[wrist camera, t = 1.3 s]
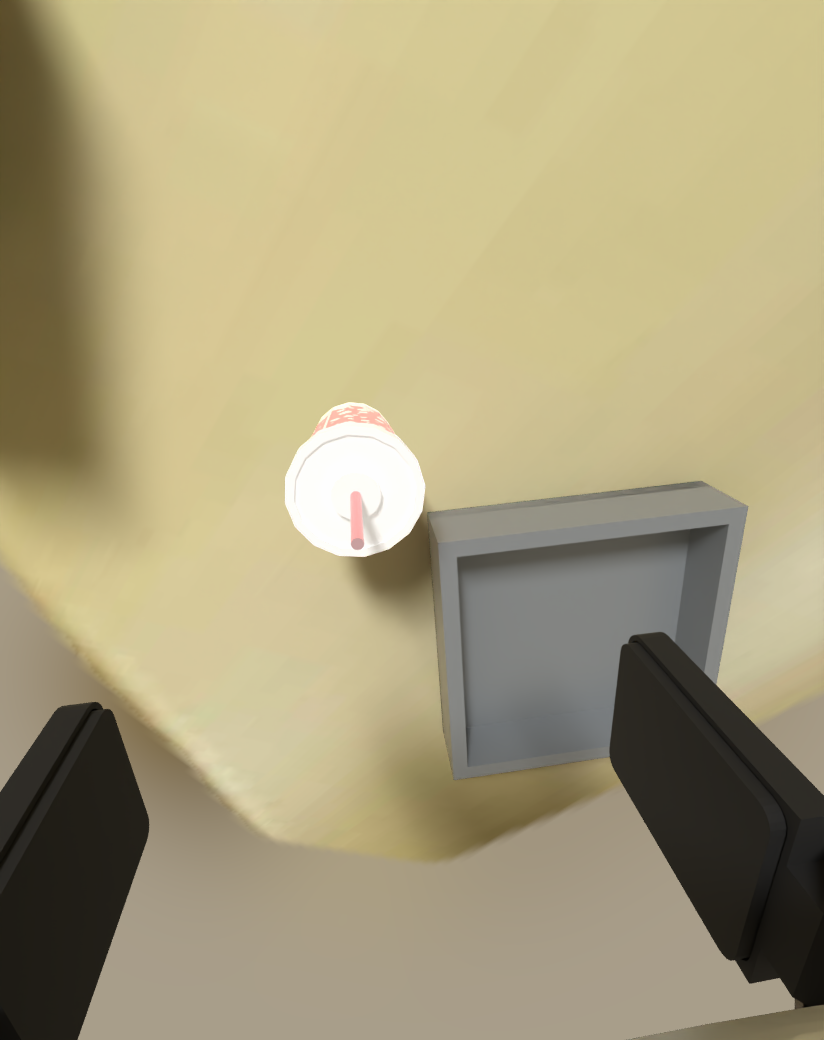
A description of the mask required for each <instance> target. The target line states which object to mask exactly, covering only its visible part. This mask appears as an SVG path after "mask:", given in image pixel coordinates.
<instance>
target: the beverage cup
mask: <svg viewBox="0 0 824 1040" xmlns="http://www.w3.org/2000/svg"><path fill="white" fill-rule="evenodd" d="M424 493H425V483H424V480H423V476H422V473H421V470H420V466H419V463H418V460H417V458H416V457H415V455H414V454H413V453H412V452H411V451H410V449H409V448H408V447H407V446H406V445H405V444H404V442H403V441H402V440H401V439H400V438H399V437H398V436H397V435H395V433H394V431H393V430H392V428H391V426H390V425H389V423H388V422H387V421H386V419H385V418H384V417H383V416H382V415H381V414H380V412H379V411H377V410H376V409H374V408H372V407H370V406H368V405H366V404H362V403H350V402H348V403H345V404H342V405H339V406H335V407H333V408H332V409H331V410H329V411H328V412H327V413H326V414H325V415H324V416H323V417H322V418H321V419H320V421H319V423H318V425H317V427H316V429H315V431H314V433H313V435H312V437H311V438H310V439H309V440H308V441H306V442H305V443H304V444H303V445H302V446H301V447H299V449H298V451H297V453H296V455H295V457H294V459H293V461H292V463H291V466H290V468H289V470H288V472H287V474H286V477H285V504H286V507H287V509H288V512H289V514H290V516H291V519H292V521H293V523H294V526H295V527H296V528H297V529H298V530H299V531H300V532H301V533H302V534H303V535H304V536H305V537H306V538H307V539H308V540H309V541H310V542H311V543H312V544H313V545H314V546H316V547H319V548H321V549H324V550H326V551H328V552H331V553H333V554H335V555H338V556H356V557H366V556H369V555H372V554H375V553H378V552H382V551H385V550H388V549H390V548H391V547H393V546H394V545H395V544H397V543H398V542H399V541H400V540H402V539H403V538H404V537H405V536H407V535H408V534H409V533H410V532H411V530H412V528H413V526H414V525H415V523H416V521H417V520H418V518H419V516H420V514H421V513H422V510H423V502H424Z"/></svg>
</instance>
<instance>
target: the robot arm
mask: <svg viewBox="0 0 824 1040" xmlns="http://www.w3.org/2000/svg"><path fill="white" fill-rule="evenodd" d="M609 754H610V759H611V763H612V766H613V768H614V770H615V772H616V774H617V776H618V777H619V779H620V781H621V782H622V784H623V786H624V788H625V789H626V791H627V793H628V794H629V796H630V798H631V800H632V801H633V803H634V805H635V806H636V808H637V810H638V811H639V813H640V815H641V817H642V818H643V820H644V822H645V823H646V825H647V827H648V829H649V830H650V832H651V834H652V835H653V837H654V839H655V841H656V842H657V844H658V846H659V848H660V849H661V851H662V853H663V854H664V856H665V858H666V859H667V861H668V863H669V865H670V866H671V868H672V870H673V871H674V873H675V875H676V877H677V878H678V880H679V882H680V883H681V885H682V887H683V888H684V890H685V892H686V894H687V895H688V897H689V898H690V901H691V902H692V904H693V906H694V907H695V909H696V911H697V913H698V914H699V916H700V918H701V919H702V921H703V923H704V925H705V926H706V928H707V930H708V931H709V933H710V935H711V937H712V938H713V940H714V942H715V943H716V945H717V947H718V948H719V950H720V951H721V953H722V954H723V955H724V956H725V957H726V958H727V959H728V960H735V961H736V962H737V964H738V966H739V967H740V969H741V971H742V972H743V974H744V976H745V977H746V979H747V980H748V982H749V983H756V982H761V981H766V980H771V979H776V978H780V979H781V980H782V982H783V983H784V985H785V986H786V988H787V989H788V991H789V992H790V994H791V996H792V997H793V998H795V1009H794V1010H788V1011H782V1012H776V1013H771V1014H765V1015H759V1016H753V1017H747V1018H741V1019H735V1020H729V1021H723V1022H717V1023H711V1024H706V1025H701V1026H696V1027H691V1028H685V1029H681V1030H675V1031H670V1032H664V1033H660V1034H654V1035H649V1036H644V1037H639V1038H633V1039H628V1040H824V795H823V794H821V793H820V791H818V789H817V788H816V787H815V786H814V785H813V784H812V783H811V782H810V781H809V780H808V779H807V778H806V777H805V776H804V775H803V774H802V773H801V772H800V771H799V770H798V769H797V768H796V767H795V766H794V765H793V764H792V763H791V761H790V760H789V759H788V758H787V757H786V756H785V755H784V754H783V753H782V752H781V751H780V750H779V749H778V748H777V747H776V746H775V745H774V744H773V743H772V742H771V741H770V740H769V739H768V738H767V737H766V736H765V735H764V734H763V733H762V732H761V731H760V730H759V729H758V728H757V727H756V725H755V724H754V723H753V722H752V721H751V720H750V719H749V718H748V717H747V716H746V715H745V714H744V713H743V712H742V711H741V710H740V709H739V708H738V707H737V706H736V705H735V704H734V703H733V702H732V701H731V700H730V699H729V698H728V697H727V696H726V695H725V694H724V693H723V692H722V691H721V690H720V688H719V687H718V686H717V685H716V684H715V683H714V682H713V681H712V680H711V679H710V678H709V677H708V676H707V675H706V674H705V673H704V672H703V671H702V670H701V669H700V668H699V667H698V666H697V665H696V664H695V663H694V662H693V661H692V660H691V659H690V658H689V657H688V656H687V655H686V654H685V653H684V651H683V650H682V649H681V648H680V647H679V646H678V645H677V644H676V643H675V642H674V641H673V640H672V639H671V638H670V637H669V636H668V635H667V634H665V633H664V632H653V633H645V634H637V635H633V636H631V637H630V639H629V641H628V644H624V645H622V647H621V651H620V660H619V669H618V677H617V686H616V695H615V704H614V712H613V721H612V730H611V738H610V747H609ZM148 833H149V818H148V814H147V811H146V808H145V805H144V803H143V799H142V797H141V794H140V791H139V788H138V785H137V782H136V779H135V776H134V773H133V770H132V767H131V764H130V761H129V758H128V755H127V753H126V749H125V747H124V744H123V741H122V738H121V735H120V732H119V729H118V726H117V723H116V720H115V717H114V714H113V712H112V711H111V710H110V709H104V710H103V708H102V706H101V705H100V704H99V703H98V702H91V703H83V704H76V705H67V706H62V707H60V708H58V709H57V710H56V711H55V712H54V714H53V715H52V717H51V718H50V720H49V721H48V722H47V724H46V726H45V727H44V728H43V730H42V731H41V733H40V735H39V736H38V737H37V739H36V740H35V742H34V743H33V745H32V746H31V748H30V749H29V751H28V752H27V754H26V755H25V756H24V758H23V759H22V761H21V762H20V764H19V765H18V767H17V768H16V770H15V771H14V773H13V774H12V776H11V777H10V779H9V780H8V782H7V783H6V784H5V786H4V787H3V789H2V790H1V792H0V1040H77V1039H78V1036H79V1034H80V1031H81V1028H82V1025H83V1022H84V1019H85V1017H86V1014H87V1011H88V1008H89V1005H90V1002H91V999H92V996H93V994H94V991H95V988H96V985H97V982H98V979H99V976H100V973H101V971H102V967H103V965H104V962H105V959H106V956H107V953H108V950H109V948H110V945H111V942H112V939H113V936H114V933H115V930H116V927H117V925H118V922H119V919H120V916H121V913H122V910H123V907H124V905H125V902H126V899H127V896H128V893H129V890H130V887H131V884H132V881H133V879H134V876H135V873H136V870H137V867H138V864H139V861H140V858H141V856H142V853H143V850H144V847H145V844H146V841H147V838H148Z"/></svg>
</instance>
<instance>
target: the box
mask: <svg viewBox="0 0 824 1040" xmlns="http://www.w3.org/2000/svg"><path fill="white" fill-rule="evenodd" d="M747 511H748V506H747V505H745V504H743V503H741V502H739V501H738V500H736V499H734V498H732V497H730V496H728V495H727V494H725V493H723V492H721V491H719V490H717V489H715V488H714V487H712V486H710V485H708V484H706V483H704V482H703V481H697V482H688V483H680V484H671V485H662V486H654V487H645V488H636V489H628V490H619V491H610V492H601V493H593V494H584V495H575V496H567V497H558V498H549V499H541V500H532V501H523V502H515V503H506V504H497V505H488V506H480V507H471V508H462V509H454V510H445V511H436V512H428V513H427V517H428V530H429V544H430V558H431V571H432V585H433V599H434V612H435V626H436V639H437V653H438V667H439V680H440V694H441V708H442V721H443V732H444V737H445V742H446V746H447V751H448V756H449V760H450V765H451V769H452V774H453V779H454V780H458V779H465V778H472V777H478V776H485V775H492V774H498V773H505V772H512V771H519V770H525V769H532V768H539V767H545V766H552V765H559V764H565V763H572V762H579V761H586V760H592V759H599V758H606V757H610V754H609V747H610V738H611V730H612V721H613V712H614V704H615V695H616V686H617V677H618V669H619V660H620V651H621V647H622V645H624V644H628V641H629V639H630V637H631V636H633V635H637V634H645V633H653V632H664V633H665V634H667V635H668V636H669V637H670V638H671V639H672V640H673V641H674V642H675V643H676V644H677V645H678V646H679V647H680V648H681V649H682V650H683V651H684V653H685V654H686V655H687V656H688V657H689V658H690V659H691V660H692V661H693V662H694V663H695V664H696V665H697V666H698V667H699V668H700V669H701V670H702V671H703V672H704V673H705V674H706V675H707V676H708V677H709V678H710V679H711V680H712V681H713V682H714V683H715V684H716V683H717V677H718V672H719V666H720V661H721V655H722V649H723V644H724V638H725V633H726V627H727V622H728V616H729V611H730V605H731V599H732V594H733V588H734V583H735V577H736V572H737V566H738V561H739V555H740V549H741V544H742V538H743V533H744V527H745V522H746V516H747Z"/></svg>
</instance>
